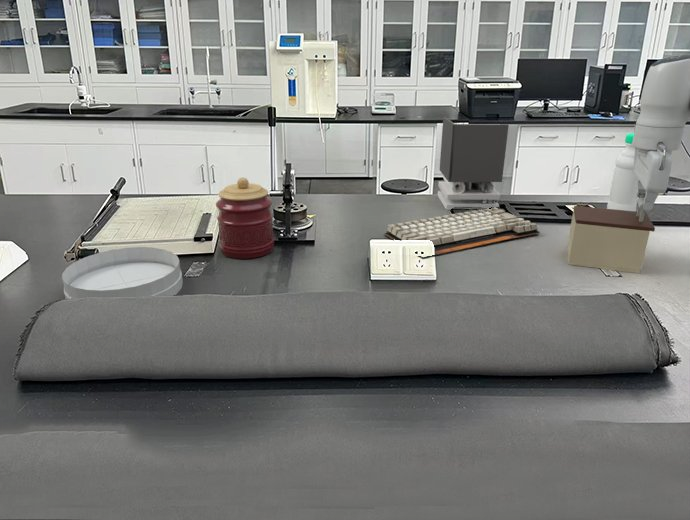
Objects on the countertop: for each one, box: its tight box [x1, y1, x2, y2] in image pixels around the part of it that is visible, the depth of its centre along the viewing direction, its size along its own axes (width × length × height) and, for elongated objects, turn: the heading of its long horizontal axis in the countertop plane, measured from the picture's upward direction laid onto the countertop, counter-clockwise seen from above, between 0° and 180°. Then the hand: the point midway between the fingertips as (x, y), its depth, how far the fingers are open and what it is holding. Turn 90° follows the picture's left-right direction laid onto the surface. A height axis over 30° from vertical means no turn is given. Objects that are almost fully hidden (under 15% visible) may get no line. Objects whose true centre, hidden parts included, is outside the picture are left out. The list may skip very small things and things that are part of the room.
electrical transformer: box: [437, 116, 509, 211], centre depth 163 cm, size 16×19×25 cm
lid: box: [573, 198, 656, 232], centre depth 118 cm, size 15×12×5 cm
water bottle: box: [606, 132, 639, 212], centre depth 140 cm, size 7×7×25 cm
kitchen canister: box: [215, 177, 275, 260], centre depth 125 cm, size 13×13×18 cm
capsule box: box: [566, 209, 651, 274], centre depth 121 cm, size 15×12×10 cm
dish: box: [61, 246, 184, 300], centre depth 107 cm, size 22×22×5 cm
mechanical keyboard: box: [383, 207, 541, 256], centre depth 138 cm, size 38×19×3 cm, turn 117°
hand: (644, 203), depth 116 cm, fingers open, 8 cm apart
